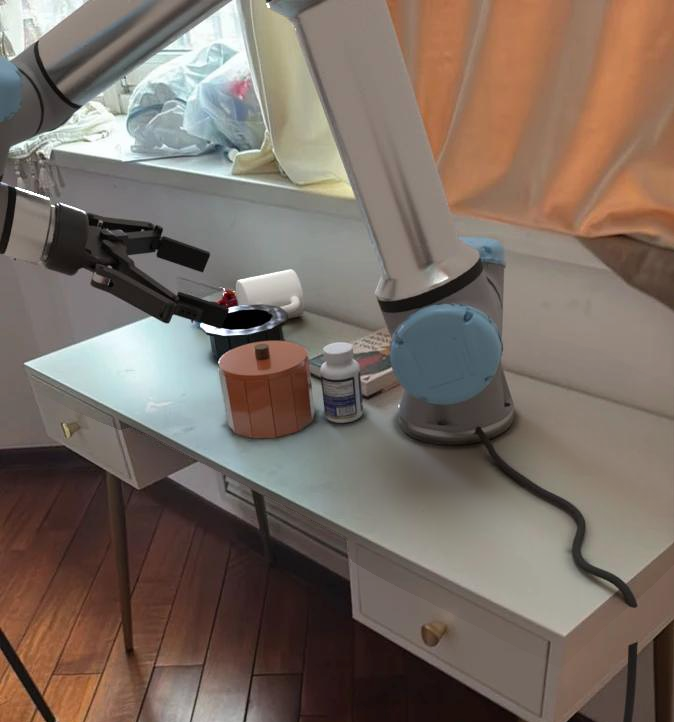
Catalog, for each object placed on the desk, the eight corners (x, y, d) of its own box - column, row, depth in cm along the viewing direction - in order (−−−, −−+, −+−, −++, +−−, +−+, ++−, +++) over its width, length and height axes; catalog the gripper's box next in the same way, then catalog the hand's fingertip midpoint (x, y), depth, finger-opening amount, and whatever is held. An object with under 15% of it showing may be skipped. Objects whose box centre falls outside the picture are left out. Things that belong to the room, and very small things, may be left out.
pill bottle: (339, 404, 122) (333, 337, 116) (370, 411, 119) (366, 343, 113) (317, 419, 118) (310, 351, 112) (349, 426, 116) (343, 357, 110)
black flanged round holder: (304, 355, 138) (300, 321, 134) (222, 376, 134) (216, 342, 130) (273, 330, 148) (268, 298, 145) (196, 348, 144) (190, 316, 141)
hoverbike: (259, 320, 152) (255, 289, 149) (193, 331, 151) (187, 300, 147) (254, 311, 156) (250, 280, 153) (190, 322, 155) (184, 291, 151)
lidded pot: (327, 423, 117) (320, 349, 111) (246, 446, 114) (233, 371, 107) (294, 393, 126) (285, 323, 120) (218, 414, 122) (205, 343, 116)
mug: (239, 320, 153) (232, 275, 149) (291, 308, 156) (286, 264, 151) (259, 340, 144) (253, 293, 140) (314, 328, 147) (309, 281, 142)
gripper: (34, 212, 109) (189, 265, 120) (45, 320, 94) (221, 369, 105) (49, 156, 105) (209, 216, 115) (62, 260, 89) (245, 317, 100)
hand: (215, 289), depth 110 cm, fingers open, 13 cm apart
